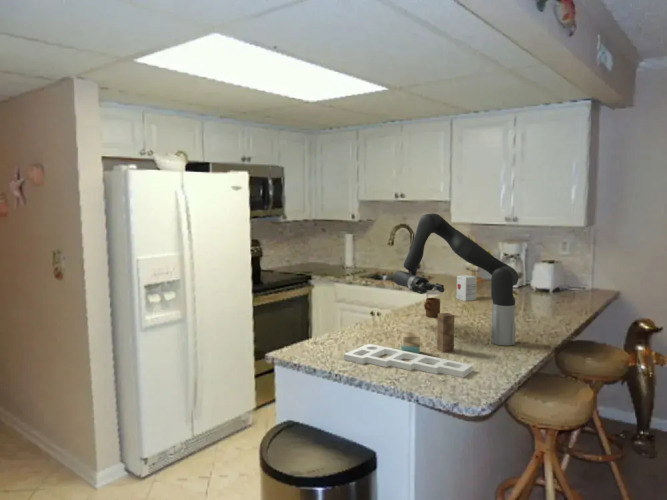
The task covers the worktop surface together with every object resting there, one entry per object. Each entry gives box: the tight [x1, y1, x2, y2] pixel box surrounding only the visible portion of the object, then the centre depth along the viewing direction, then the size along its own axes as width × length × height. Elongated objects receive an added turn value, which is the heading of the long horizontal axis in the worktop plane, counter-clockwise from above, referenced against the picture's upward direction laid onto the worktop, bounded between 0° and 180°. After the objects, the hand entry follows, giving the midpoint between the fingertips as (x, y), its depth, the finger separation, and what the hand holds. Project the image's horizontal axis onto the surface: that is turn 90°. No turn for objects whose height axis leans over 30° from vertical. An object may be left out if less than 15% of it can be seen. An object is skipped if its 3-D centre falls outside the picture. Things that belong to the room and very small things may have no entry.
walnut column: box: [436, 312, 456, 353], centre depth 202 cm, size 5×5×15 cm
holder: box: [343, 343, 474, 379], centre depth 184 cm, size 45×18×3 cm, turn 53°
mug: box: [423, 297, 441, 318], centre depth 262 cm, size 12×8×9 cm, turn 138°
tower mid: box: [401, 331, 421, 347], centre depth 198 cm, size 6×6×4 cm
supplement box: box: [456, 274, 478, 302], centre depth 310 cm, size 9×9×15 cm
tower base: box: [400, 342, 421, 354], centre depth 198 cm, size 7×7×4 cm
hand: (434, 290), depth 212 cm, fingers open, 8 cm apart
